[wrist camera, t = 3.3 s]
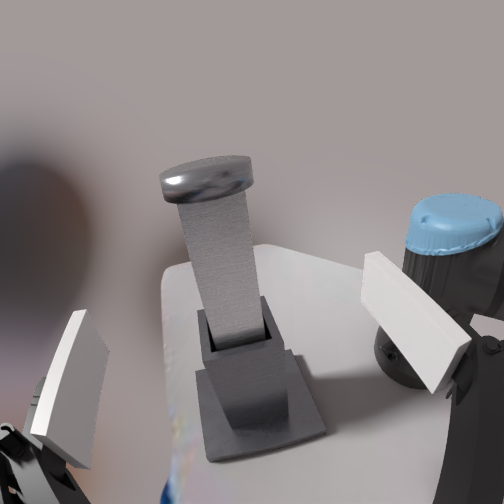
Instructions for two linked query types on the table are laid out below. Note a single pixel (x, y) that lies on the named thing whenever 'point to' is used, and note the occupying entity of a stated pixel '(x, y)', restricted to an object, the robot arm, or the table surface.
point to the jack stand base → (253, 395)
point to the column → (220, 244)
